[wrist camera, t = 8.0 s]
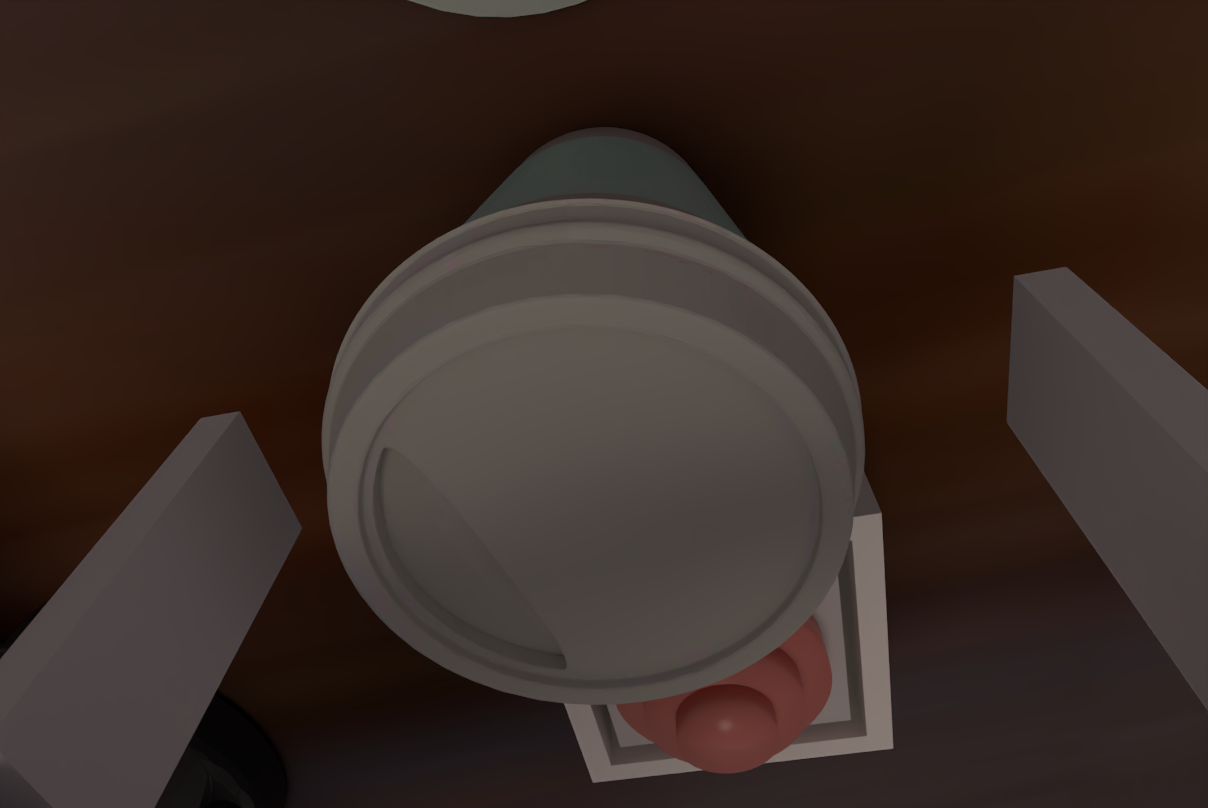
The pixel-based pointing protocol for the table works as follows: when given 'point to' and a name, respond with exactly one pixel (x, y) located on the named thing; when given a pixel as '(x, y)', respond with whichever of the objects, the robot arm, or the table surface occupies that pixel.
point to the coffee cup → (593, 436)
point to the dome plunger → (750, 702)
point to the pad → (498, 6)
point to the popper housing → (859, 734)
